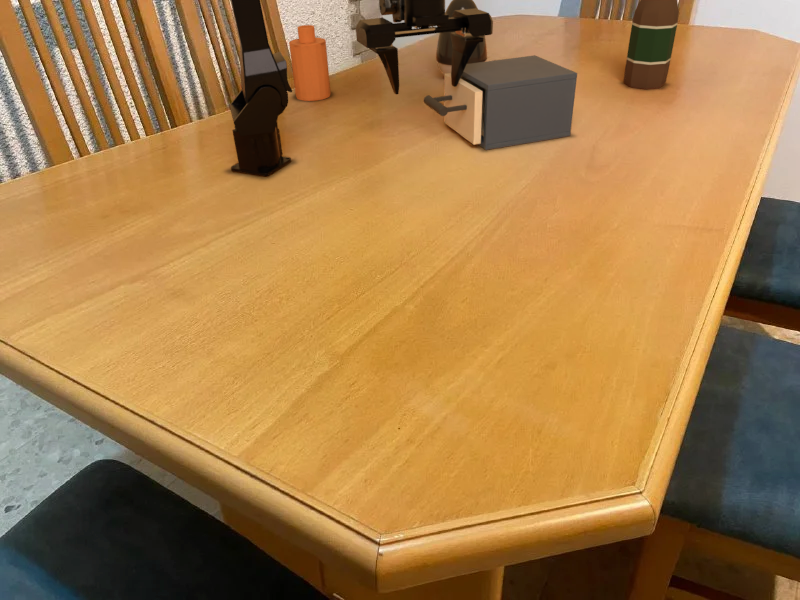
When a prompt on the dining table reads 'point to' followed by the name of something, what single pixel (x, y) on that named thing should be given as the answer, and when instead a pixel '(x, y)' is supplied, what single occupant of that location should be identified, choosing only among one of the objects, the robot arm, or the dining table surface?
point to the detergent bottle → (309, 65)
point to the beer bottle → (651, 43)
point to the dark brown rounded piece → (444, 44)
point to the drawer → (461, 107)
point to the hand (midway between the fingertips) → (425, 89)
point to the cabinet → (524, 100)
